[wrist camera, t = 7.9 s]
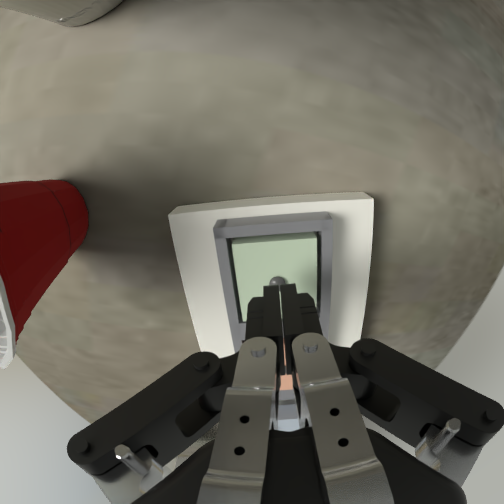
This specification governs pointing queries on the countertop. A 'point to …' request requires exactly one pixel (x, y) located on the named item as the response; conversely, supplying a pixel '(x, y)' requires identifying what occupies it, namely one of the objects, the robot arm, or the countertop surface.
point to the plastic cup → (34, 248)
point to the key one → (275, 264)
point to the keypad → (267, 223)
